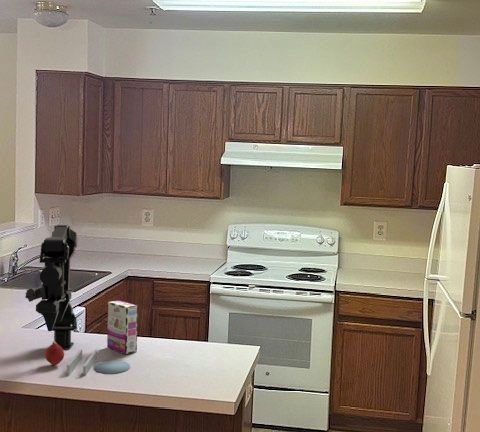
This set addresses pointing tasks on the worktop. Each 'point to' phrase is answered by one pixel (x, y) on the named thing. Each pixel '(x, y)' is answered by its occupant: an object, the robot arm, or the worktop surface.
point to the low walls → (78, 358)
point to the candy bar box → (122, 327)
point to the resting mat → (112, 367)
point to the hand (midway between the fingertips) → (54, 327)
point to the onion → (54, 354)
